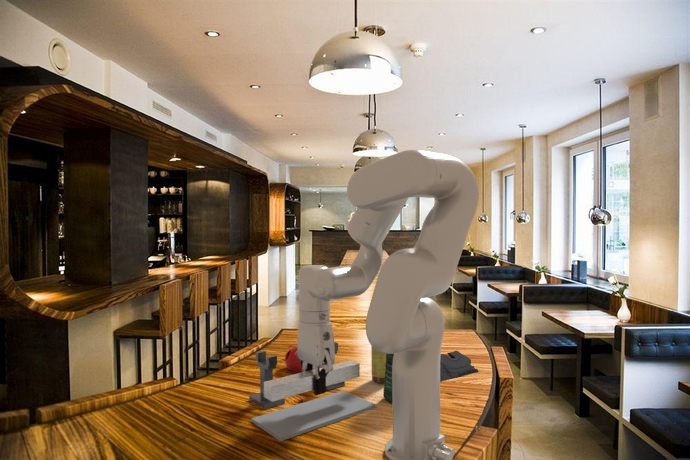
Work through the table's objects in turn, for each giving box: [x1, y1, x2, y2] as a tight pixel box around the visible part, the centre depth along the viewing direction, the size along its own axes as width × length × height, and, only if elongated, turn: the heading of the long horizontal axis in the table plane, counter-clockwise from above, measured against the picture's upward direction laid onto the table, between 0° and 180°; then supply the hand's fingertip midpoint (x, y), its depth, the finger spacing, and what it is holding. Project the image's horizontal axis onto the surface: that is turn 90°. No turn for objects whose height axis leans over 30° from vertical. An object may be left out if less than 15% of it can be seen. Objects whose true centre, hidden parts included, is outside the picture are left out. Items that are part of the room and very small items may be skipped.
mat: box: [250, 390, 377, 442], centre depth 115 cm, size 13×28×1 cm, turn 129°
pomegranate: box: [284, 345, 302, 373], centre depth 150 cm, size 10×10×9 cm
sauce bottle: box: [370, 346, 386, 385], centre depth 138 cm, size 6×6×20 cm
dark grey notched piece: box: [440, 350, 480, 383], centre depth 147 cm, size 15×22×5 cm
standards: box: [248, 341, 346, 410], centre depth 129 cm, size 8×26×12 cm, turn 129°
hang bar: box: [264, 359, 361, 402], centre depth 115 cm, size 4×26×4 cm, turn 129°
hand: (314, 390), depth 115 cm, fingers closed on hang bar, 3 cm apart
